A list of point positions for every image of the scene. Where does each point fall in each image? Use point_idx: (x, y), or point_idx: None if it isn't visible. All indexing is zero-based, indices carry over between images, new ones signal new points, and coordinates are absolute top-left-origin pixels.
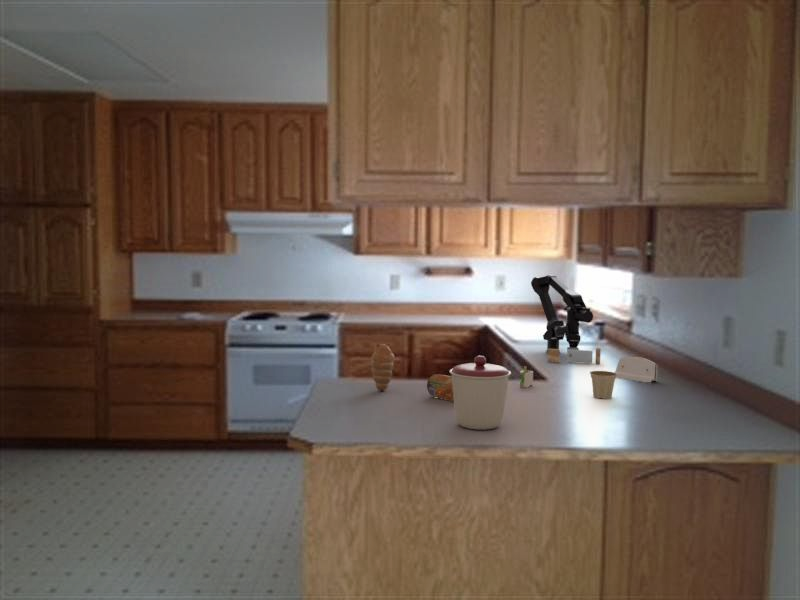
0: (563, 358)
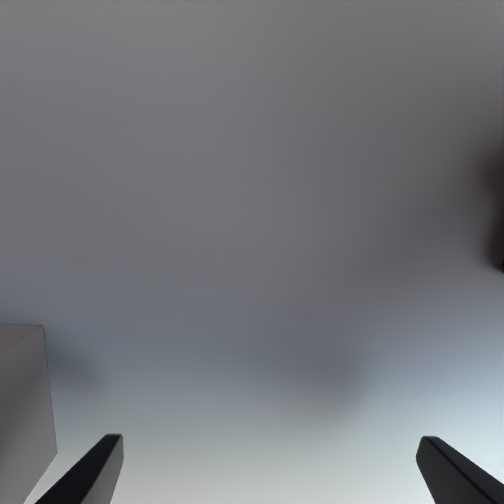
0: (49, 279)
